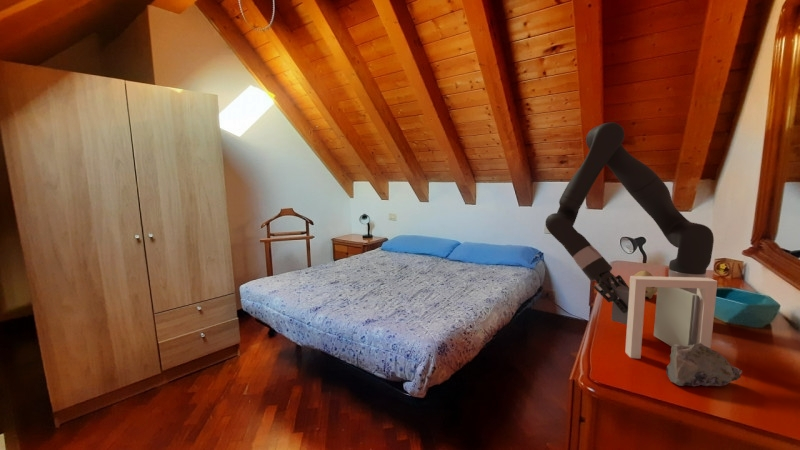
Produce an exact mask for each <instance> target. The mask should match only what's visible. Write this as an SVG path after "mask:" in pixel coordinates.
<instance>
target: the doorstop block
mask: <svg viewBox="0 0 800 450" xmlns="http://www.w3.org/2000/svg"><path fill="white" fill-rule="evenodd" d="M616 290H617V294H618V295H619V296H620V298H621V299H622V300H623V301H624V302H625V304H626V305H627V306H628V303H629V286H628V287H625V286H623V287H621V286H619V287H617V289H616ZM613 294H614V293H613ZM627 318H628V312H626V313H623V312H622V311H621V310H620V309H619V308H618V306H617V305H616V304H615V303H613V302H612V307H611V321H612V322H616V323H619V324H623V325H626V326H627Z"/></svg>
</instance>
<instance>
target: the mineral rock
mask: <svg viewBox="0 0 800 450" xmlns="http://www.w3.org/2000/svg"><path fill="white" fill-rule="evenodd" d="M670 352H671V353H670V355H669V357H670V362H669V364H667V366H666V376H667V377H668V379H669V380H670V382H671V383H674V384H675V385H677V386H680V387H681V386H682V387H685V386H690V387H691V386H692V387H699V386H703V387H708V386H713V387H714V386H716V387H722V386H727V385H729V384H730V383H731V382H734V381H737V380H739V379H740V378H741V375H742V373H743V370H741V369H740V368H738V367H736V366H733V365H732V364H731V363H730V362H729V360H727V358H726V357H725V356H723V355H722V354H720V352H718V351H716V350H714V349H712V348H711V349H710V348H708V347H707V346H704V345H703V344H701V343H697V344H694V345H688V346H684V345H678V344H674V345H673V346H672V347H671V348H670Z"/></svg>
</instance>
